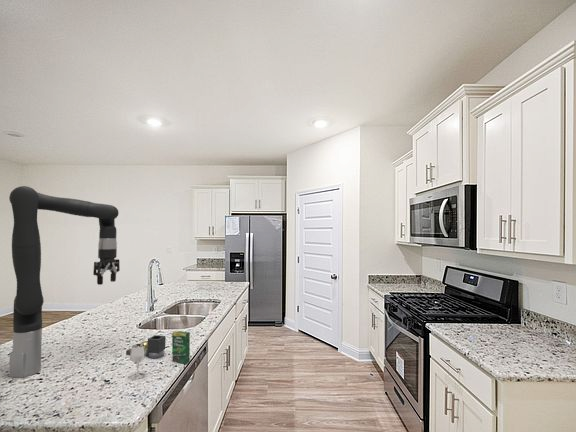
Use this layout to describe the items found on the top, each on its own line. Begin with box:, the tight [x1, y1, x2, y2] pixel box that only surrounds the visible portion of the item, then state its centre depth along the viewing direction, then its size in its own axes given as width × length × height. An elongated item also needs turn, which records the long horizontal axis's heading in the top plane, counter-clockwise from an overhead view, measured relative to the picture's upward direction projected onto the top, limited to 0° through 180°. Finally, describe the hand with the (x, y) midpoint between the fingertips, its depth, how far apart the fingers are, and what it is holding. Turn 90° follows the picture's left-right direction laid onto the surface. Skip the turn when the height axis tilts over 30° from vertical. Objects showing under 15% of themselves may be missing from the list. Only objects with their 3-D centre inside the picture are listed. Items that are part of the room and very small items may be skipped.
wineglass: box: [129, 343, 146, 380], centre depth 131 cm, size 6×6×12 cm
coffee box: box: [171, 330, 191, 365], centre depth 145 cm, size 8×3×13 cm, turn 66°
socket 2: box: [147, 334, 167, 353], centre depth 151 cm, size 6×6×6 cm
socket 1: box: [140, 340, 148, 350], centre depth 158 cm, size 4×4×4 cm
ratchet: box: [125, 348, 165, 360], centre depth 152 cm, size 6×18×6 cm, turn 81°
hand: (106, 282), depth 153 cm, fingers open, 8 cm apart
